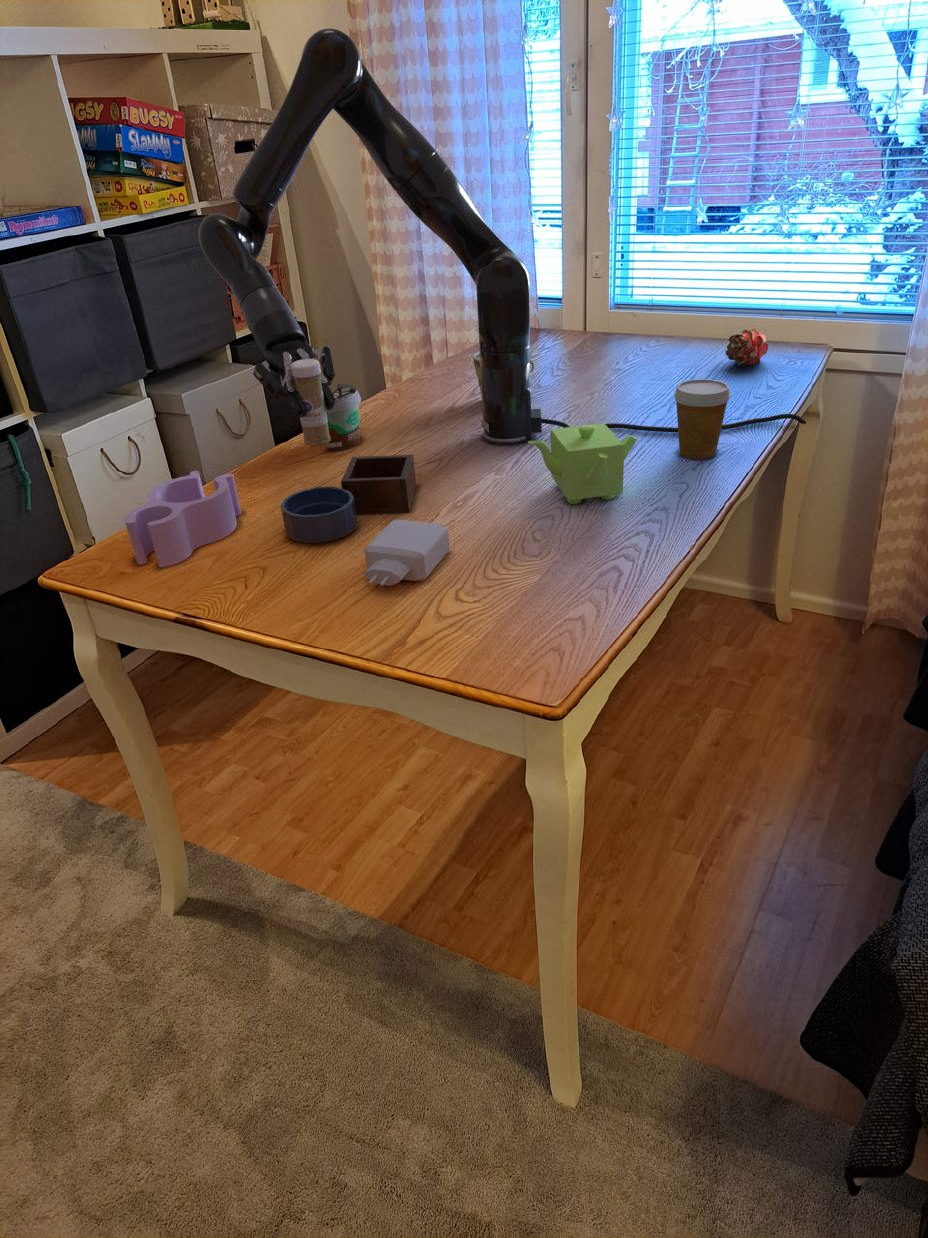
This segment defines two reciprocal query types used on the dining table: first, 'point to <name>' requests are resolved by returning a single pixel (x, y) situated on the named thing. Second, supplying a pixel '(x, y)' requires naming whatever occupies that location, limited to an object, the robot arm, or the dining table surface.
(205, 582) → the dining table surface
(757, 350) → the dragon fruit
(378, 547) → the charger
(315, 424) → the sprinkles bottle
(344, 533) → the bowl
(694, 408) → the disposable coffee cup
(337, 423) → the food container
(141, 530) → the clip
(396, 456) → the box
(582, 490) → the kettle
